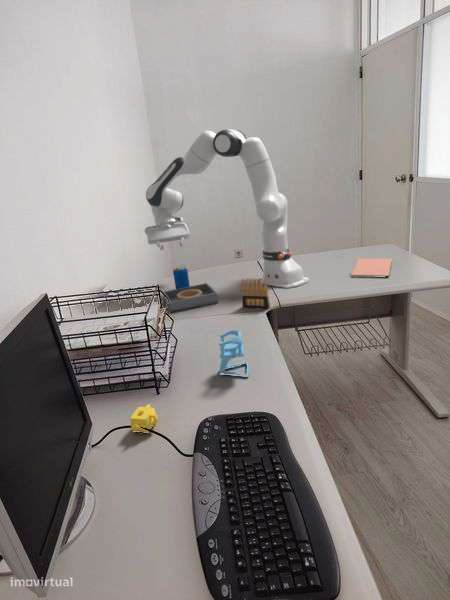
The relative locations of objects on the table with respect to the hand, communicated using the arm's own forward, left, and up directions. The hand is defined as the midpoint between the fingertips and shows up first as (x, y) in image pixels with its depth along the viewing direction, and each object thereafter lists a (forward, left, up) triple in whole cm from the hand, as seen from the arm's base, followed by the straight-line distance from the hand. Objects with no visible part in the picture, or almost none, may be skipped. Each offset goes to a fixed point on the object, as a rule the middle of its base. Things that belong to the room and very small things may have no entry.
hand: (172, 247), depth 191 cm
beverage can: (-12, +4, -19) cm, 23 cm away
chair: (-85, +30, -19) cm, 93 cm away
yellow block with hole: (-91, +60, -19) cm, 111 cm away
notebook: (-57, -72, -20) cm, 94 cm away
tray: (-25, +8, -19) cm, 33 cm away
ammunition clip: (-52, -6, -19) cm, 56 cm away
